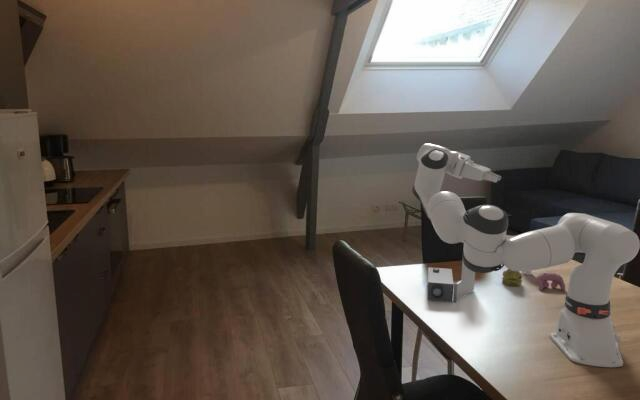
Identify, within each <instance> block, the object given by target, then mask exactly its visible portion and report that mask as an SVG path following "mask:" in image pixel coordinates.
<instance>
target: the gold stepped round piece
mask: <svg viewBox="0 0 640 400" xmlns="http://www.w3.org/2000/svg"><path fill="white" fill-rule="evenodd" d="M523 275H524V274H522V272H521V271H512V270H510V269H508V268H506V270H504V271H503V272H502V276H503V277H502V278H501V279H502V281H501V283H502V284H503V285H504V286H506V287H510V288H520V287H521V286H522V284H523V283H522V282H523Z"/></svg>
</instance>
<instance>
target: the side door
mask: <svg viewBox="0 0 640 400" xmlns="http://www.w3.org/2000/svg"><path fill="white" fill-rule="evenodd" d="M461 263H462V264H461V278H460V279H461V280H459V281H457V282H453V283H454V286H453V302H452V303H457V302H458V301H459V300H460V299H462V298H464V297H465V296H467V295H468V294H469V293H471V292H473V291H474V290H475V283H476V282H475V279H476V272H473V271H471V270H469V269H468V268H467V267H466V266H465V265H464V263H463V258H462V262H461Z"/></svg>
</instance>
